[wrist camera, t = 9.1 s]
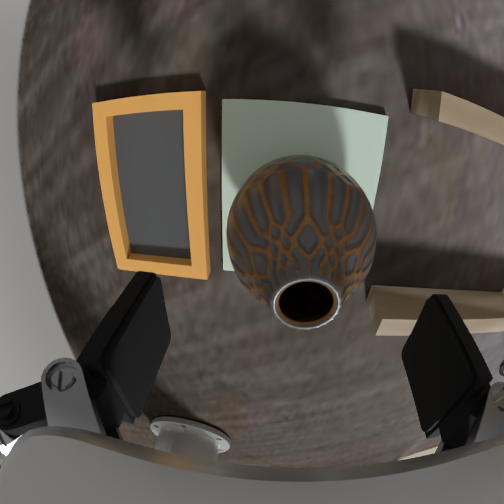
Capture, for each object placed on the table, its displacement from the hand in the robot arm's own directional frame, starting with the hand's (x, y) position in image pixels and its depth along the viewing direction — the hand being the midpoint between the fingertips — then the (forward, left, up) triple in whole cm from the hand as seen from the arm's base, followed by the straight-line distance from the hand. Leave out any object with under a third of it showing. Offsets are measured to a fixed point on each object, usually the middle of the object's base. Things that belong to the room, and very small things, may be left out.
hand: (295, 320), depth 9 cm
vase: (+1, 0, -9) cm, 9 cm away
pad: (+1, 0, -9) cm, 9 cm away
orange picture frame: (+1, +9, -9) cm, 13 cm away
